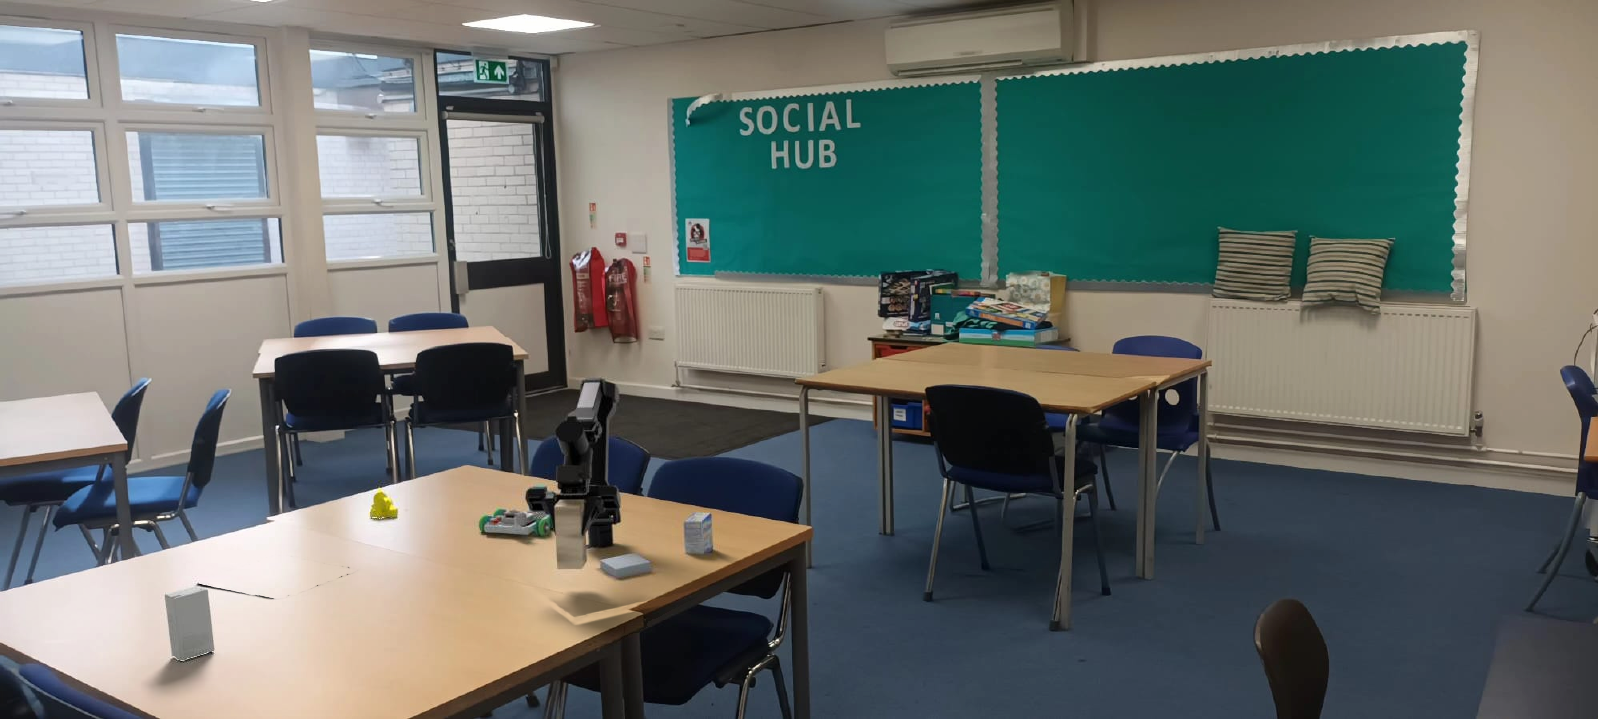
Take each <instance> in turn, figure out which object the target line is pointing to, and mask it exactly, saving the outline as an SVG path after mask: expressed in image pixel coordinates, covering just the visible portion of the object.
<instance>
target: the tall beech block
mask: <svg viewBox="0 0 1598 719" xmlns="http://www.w3.org/2000/svg"><path fill="white" fill-rule="evenodd" d="M554 509H555V530H556V536H555V546H556V547H555V549H556V568H557V570H582V569H583V568H584V566H585V565H586V563H587V561H588V559H587V558H588V557H587V556H588V555H587V554H588V552H587V549H586V545H587V533H586V534H585V535H584V536H582V524H583V519H584V514H585V505H584V500H559V502H558V503H557V504H556V505H555V506H554Z"/></svg>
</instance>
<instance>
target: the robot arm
mask: <svg viewBox="0 0 1598 719" xmlns="http://www.w3.org/2000/svg"><path fill="white" fill-rule="evenodd" d="M619 402H620V389H619V387H618V385H616V383H614V382H610V381H607V380H606V379H605V378H602V377H588V378H587V377H585V378H583V379H582V380H581V384H580V385H579V398H578V402H577V405H576V408H575V410H573V411H571V412H569V413H568V414H567V416H566V418H565V420H564V421H563V422H561V423H559V425H558V426H557V427H556V428H555V435H556V439H557V442H558V445H559V447H560V450H561V453H562V454H563V455H564V460H563V465H557V466H556V469H555V473H556V474H555V482H556V483H557V485H556V486H557V487H556V488H557V490H560V491H559V492H548V491H549V490H548V487H547V488H546V487H534V486H532V487H529V488H528V489H527V490H526V491H525V497H524V499H525V502H526V504H527V506H528V510H529V509H530V511H533V512H536V513H537V512H545V514H547V515H550V516H551V520H552V524H553V532H554V536H555V537H556V530H555V509H554V506H555V505H556V504H557V503H558V502H559V500H584V505H585V514H584V519H583V524H582V536H584V535H585V534H586V535H587V540H588V544H586V550H588V549H593V548H599V549H605V548H611V547H613V546H614V544H615V543H614V530H613V529H614V528H613V527H614V526H613V525H615V526H617V525H618V524H621V523H622V518H621V517H622V516H621V510H620V509H621V504H622V498H621V497H622V496H621V494H620V491H619V487H618V486H617V485H615V484H614V485H613V484H609V445H610V444H609V443H610V442H609V440H610V421H611V419H613V417H614V415H615V413H616V412H617V404H618V403H619Z"/></svg>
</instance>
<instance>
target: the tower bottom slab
mask: <svg viewBox="0 0 1598 719" xmlns="http://www.w3.org/2000/svg"><path fill="white" fill-rule="evenodd" d="M594 570H595V571H597V572H598V573H601V574H602V575H603V576H606V577H607V578H609V579H611V580H613V581H615V582H616V581H620V580H624V579H629V578H634V577H638V576H641V575H646V574H651V573H652V574H653V573H657V572H658V570H656V569H655V568H652V567H651V571H648V572H643V573H639V574H634V575H630V576H625V577H621V578H615V577H613V576H611V575H610V574H608V573H606V572H605V571H603V570H601V569H600V567H598V568H595V569H594Z"/></svg>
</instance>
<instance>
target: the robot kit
mask: <svg viewBox="0 0 1598 719" xmlns="http://www.w3.org/2000/svg"><path fill="white" fill-rule="evenodd" d="M533 487H546V488H547V489H548V487H547V485H538V484H537V485H534V486H533ZM547 491H548V492H554V490H553V489H551V490H547ZM478 528H479V531H480V532H481V533H487V534H488V533H499V534H500V533H501V534H513V535H529V534H530V533H532V532H534V533H535V534H536V536H539V535H540V536H541V537H545V536H547V535H548V534H549V532H550V530H551V529H553V530H554V528H553V524H552V520H551V516H550V515H547V514H545V512H533V511H530V509H529V508H528V510H524V511H521V510H520V511H519V510H516V509H515V508H511V509H509V510H508V511H507V510H506V509H505V508H496V509H495V510H494V512H493V514H492V515H488V514H483V515H481V517H480V518H479V520H478Z"/></svg>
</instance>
